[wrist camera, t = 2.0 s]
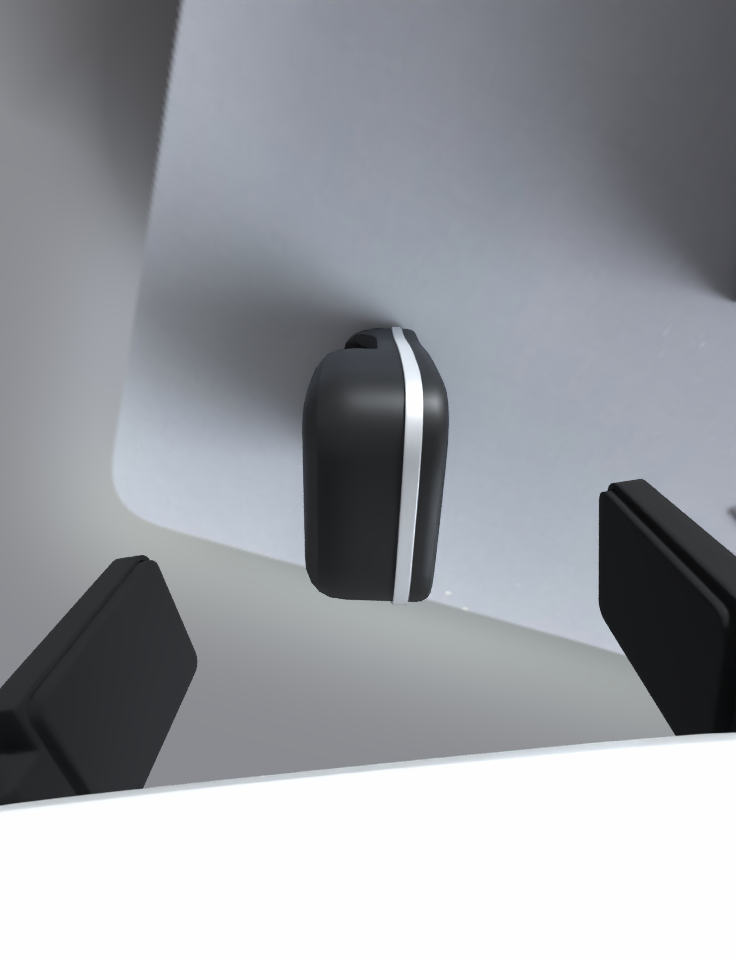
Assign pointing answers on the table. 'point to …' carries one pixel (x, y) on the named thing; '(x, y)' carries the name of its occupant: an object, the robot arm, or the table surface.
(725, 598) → the robot arm
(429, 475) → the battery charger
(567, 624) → the table surface
